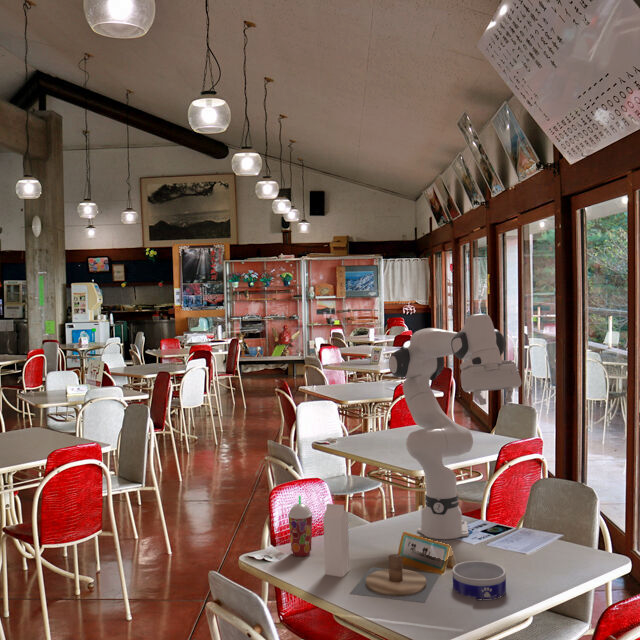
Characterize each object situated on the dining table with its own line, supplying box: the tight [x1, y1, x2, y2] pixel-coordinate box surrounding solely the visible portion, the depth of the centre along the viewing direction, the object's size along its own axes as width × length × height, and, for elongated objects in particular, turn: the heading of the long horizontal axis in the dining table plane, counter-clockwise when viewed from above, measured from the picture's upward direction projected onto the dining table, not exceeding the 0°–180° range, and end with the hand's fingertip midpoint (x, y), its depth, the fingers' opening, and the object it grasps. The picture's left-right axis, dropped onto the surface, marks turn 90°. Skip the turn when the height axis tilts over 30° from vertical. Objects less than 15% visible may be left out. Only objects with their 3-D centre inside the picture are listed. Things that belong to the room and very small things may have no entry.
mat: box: [349, 566, 441, 604], centre depth 210 cm, size 22×22×1 cm
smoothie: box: [287, 495, 313, 557], centre depth 241 cm, size 8×8×20 cm
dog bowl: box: [451, 560, 507, 601], centre depth 206 cm, size 15×15×6 cm
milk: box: [322, 503, 351, 578], centre depth 221 cm, size 6×6×22 cm
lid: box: [366, 553, 426, 596], centre depth 210 cm, size 18×18×8 cm
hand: (496, 403), depth 222 cm, fingers open, 8 cm apart
